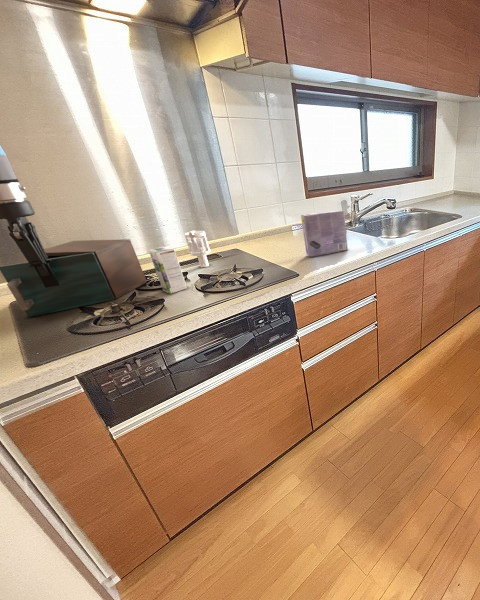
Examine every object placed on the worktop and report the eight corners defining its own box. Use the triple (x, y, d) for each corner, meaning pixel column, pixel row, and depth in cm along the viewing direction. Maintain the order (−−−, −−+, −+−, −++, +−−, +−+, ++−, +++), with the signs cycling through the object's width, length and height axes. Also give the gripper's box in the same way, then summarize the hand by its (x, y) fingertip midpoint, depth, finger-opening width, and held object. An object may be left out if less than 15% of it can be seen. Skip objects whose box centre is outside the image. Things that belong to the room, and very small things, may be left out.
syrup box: (162, 290, 111) (146, 249, 104) (180, 284, 115) (166, 245, 109) (169, 294, 108) (154, 252, 101) (188, 288, 112) (174, 247, 106)
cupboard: (116, 298, 106) (95, 251, 99) (57, 299, 106) (31, 253, 99) (147, 282, 118) (130, 239, 111) (94, 283, 119) (73, 240, 112)
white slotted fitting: (192, 269, 129) (179, 232, 123) (199, 264, 135) (187, 228, 129) (210, 268, 130) (199, 231, 124) (216, 262, 136) (206, 227, 130)
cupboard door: (112, 305, 101) (89, 257, 94) (22, 324, 91) (-10, 272, 84) (114, 298, 105) (93, 252, 99) (29, 316, 96) (-1, 266, 89)
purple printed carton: (346, 247, 151) (341, 208, 144) (350, 249, 147) (346, 210, 140) (306, 255, 142) (299, 214, 134) (309, 258, 138) (303, 216, 130)
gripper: (21, 202, 80) (66, 289, 90) (33, 197, 90) (73, 276, 100) (-24, 205, 76) (28, 296, 86) (-7, 200, 86) (39, 283, 96)
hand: (52, 285), depth 93 cm, fingers closed
